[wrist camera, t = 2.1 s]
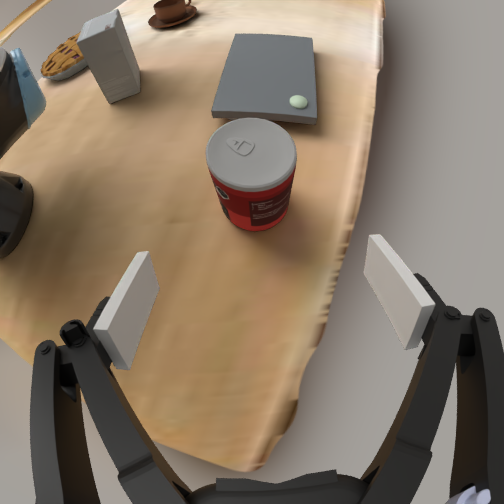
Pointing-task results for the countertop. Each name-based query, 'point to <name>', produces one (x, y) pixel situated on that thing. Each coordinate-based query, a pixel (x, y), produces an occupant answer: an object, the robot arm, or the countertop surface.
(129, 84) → the skincare box
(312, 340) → the countertop surface
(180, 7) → the cup and saucer
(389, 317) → the robot arm
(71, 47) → the pie
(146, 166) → the countertop surface
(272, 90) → the plate
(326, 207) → the countertop surface
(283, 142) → the canned food
